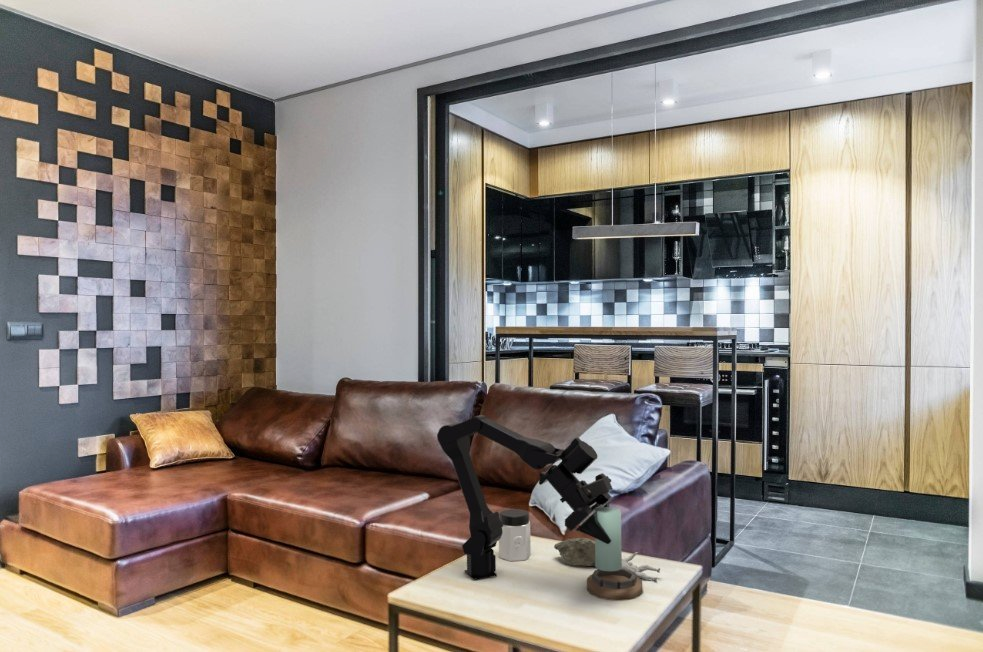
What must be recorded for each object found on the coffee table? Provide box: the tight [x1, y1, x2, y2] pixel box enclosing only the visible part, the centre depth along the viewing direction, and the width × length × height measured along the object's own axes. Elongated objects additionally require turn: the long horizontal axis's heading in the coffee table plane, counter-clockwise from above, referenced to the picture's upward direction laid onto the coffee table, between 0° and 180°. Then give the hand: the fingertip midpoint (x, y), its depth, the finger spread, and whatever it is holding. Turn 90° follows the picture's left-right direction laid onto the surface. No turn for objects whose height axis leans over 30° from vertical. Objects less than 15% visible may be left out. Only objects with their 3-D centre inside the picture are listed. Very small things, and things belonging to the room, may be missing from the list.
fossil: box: [553, 537, 595, 567], centre depth 177 cm, size 14×10×10 cm
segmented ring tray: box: [586, 568, 643, 601], centre depth 158 cm, size 13×13×4 cm
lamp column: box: [594, 506, 623, 571], centre depth 154 cm, size 6×6×13 cm
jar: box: [498, 508, 532, 562], centre depth 183 cm, size 9×8×12 cm
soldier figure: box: [622, 551, 661, 582], centre depth 167 cm, size 8×5×12 cm
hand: (613, 538), depth 154 cm, fingers closed on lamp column, 6 cm apart
